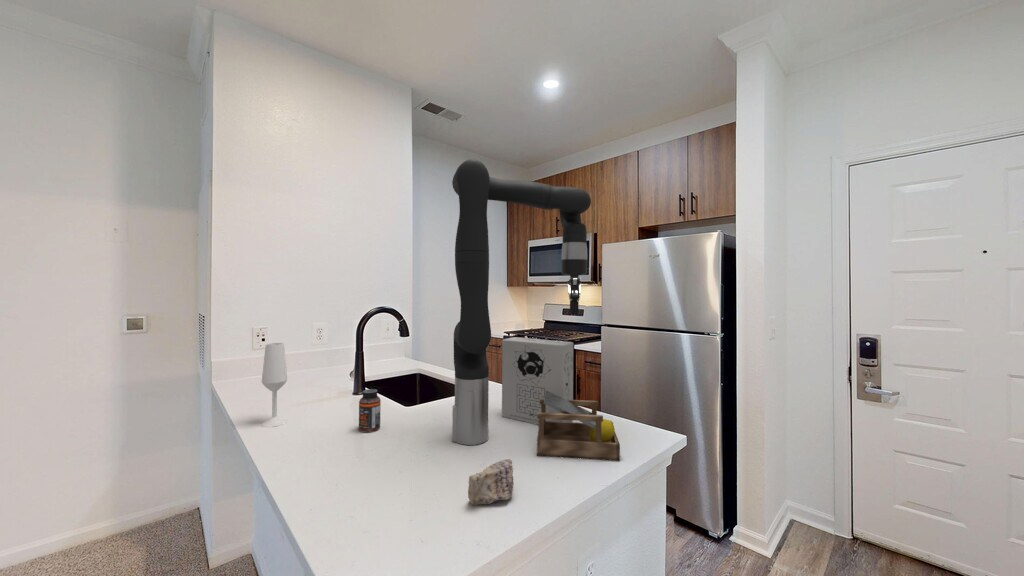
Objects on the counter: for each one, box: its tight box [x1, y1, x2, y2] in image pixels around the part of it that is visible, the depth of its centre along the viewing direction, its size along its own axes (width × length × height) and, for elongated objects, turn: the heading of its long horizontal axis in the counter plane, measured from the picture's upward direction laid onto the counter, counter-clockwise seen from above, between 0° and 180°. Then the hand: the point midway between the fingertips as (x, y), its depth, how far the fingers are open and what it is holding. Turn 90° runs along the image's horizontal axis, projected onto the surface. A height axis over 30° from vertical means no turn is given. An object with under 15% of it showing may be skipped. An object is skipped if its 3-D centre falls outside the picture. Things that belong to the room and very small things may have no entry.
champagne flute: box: [261, 342, 288, 428], centre depth 120 cm, size 7×7×24 cm
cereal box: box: [501, 336, 574, 426], centre depth 124 cm, size 22×8×25 cm, turn 58°
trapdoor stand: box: [536, 399, 621, 462], centre depth 103 cm, size 20×14×10 cm
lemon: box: [589, 418, 616, 443], centre depth 102 cm, size 6×6×8 cm
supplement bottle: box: [358, 388, 382, 433], centre depth 115 cm, size 6×6×11 cm
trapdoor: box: [544, 390, 596, 429], centre depth 104 cm, size 14×10×2 cm
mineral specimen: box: [467, 458, 514, 506], centre depth 79 cm, size 13×7×6 cm, turn 149°
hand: (573, 313), depth 117 cm, fingers open, 8 cm apart
